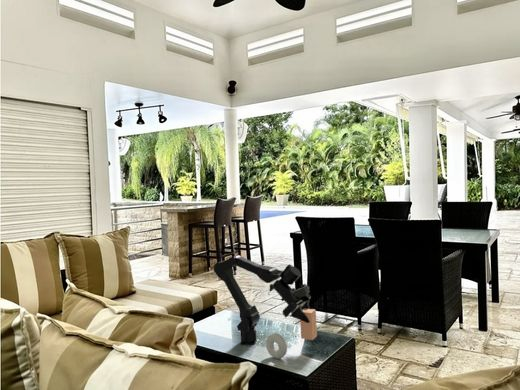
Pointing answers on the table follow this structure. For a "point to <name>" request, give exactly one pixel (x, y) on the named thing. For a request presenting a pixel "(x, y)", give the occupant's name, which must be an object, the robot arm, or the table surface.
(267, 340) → the donut
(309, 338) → the post
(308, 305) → the robot arm
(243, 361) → the table surface
